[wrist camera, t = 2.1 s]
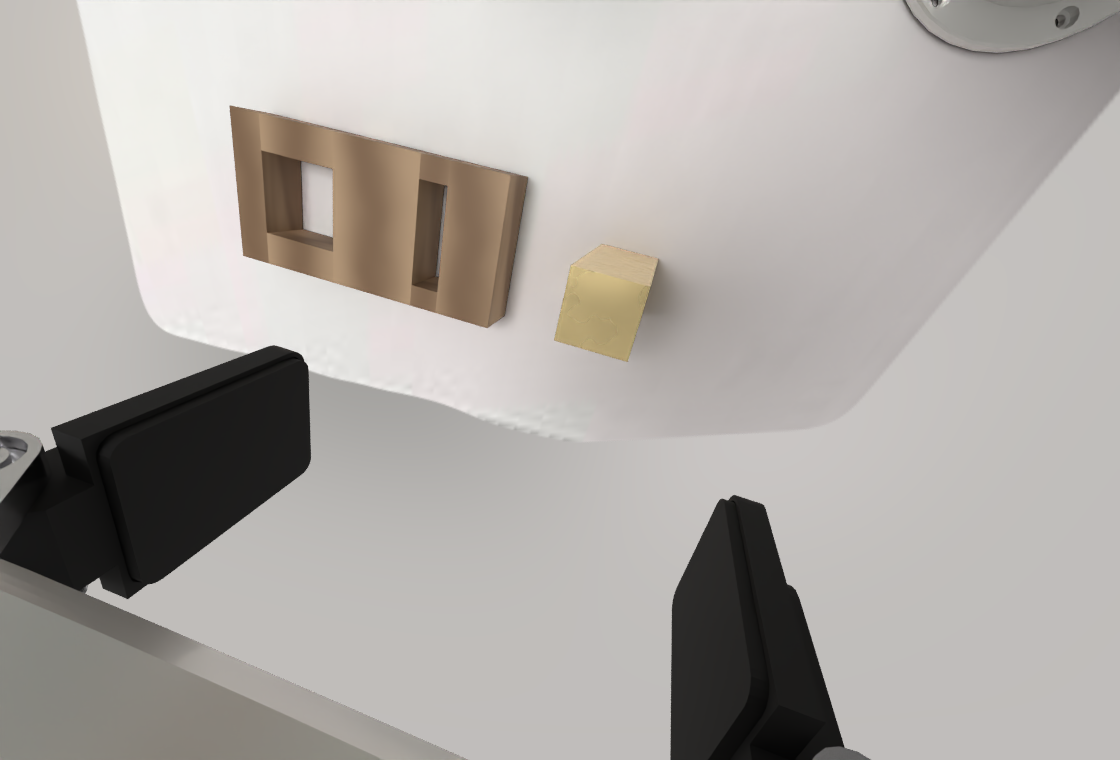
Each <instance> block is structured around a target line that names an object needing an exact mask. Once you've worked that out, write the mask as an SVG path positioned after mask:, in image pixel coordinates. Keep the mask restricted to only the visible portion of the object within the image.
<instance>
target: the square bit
mask: <svg viewBox="0 0 1120 760" xmlns="http://www.w3.org/2000/svg"><path fill="white" fill-rule="evenodd" d="M657 262H658V259H657V258H654V257H650V256H646V255H642V254H638V253H635V252H631V251H627V250H623V249H619V248H615V247H612V246H608V245H604V244H601V245H600V246H598V247H597V248H595V249H594V250H592V251H591V252H589V253H588V254H587V255H585V256H584V257H582V258H581V259H579V260H578V261H576V262H575V263H573V264H572V265H571V267H570V272H569V276H568V281H567V285H566V290H565V294H564V298H563V303H562V307H561V312H560V316H559V321H558V325H557V330H556V334H555V338H554V340H555V341H558V342H562V343H565V344H568V345H572V346H575V347H578V348H582V349H585V350H589V351H592V352H595V353H599V354H602V355H606V356H609V357H612V358H616V359H619V360H623V361H626V362H628V359H629V355H630V352H631V349H632V346H633V343H634V339H635V336H636V333H637V330H638V326H639V323H640V320H641V317H642V313H643V310H644V307H645V304H646V300H647V297H648V294H649V291H650V287H651V284H652V280H653V277H654V273H655V270H656V266H657Z"/></svg>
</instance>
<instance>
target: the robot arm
mask: <svg viewBox="0 0 1120 760" xmlns="http://www.w3.org/2000/svg"><path fill="white" fill-rule="evenodd" d="M906 2H907V4H908V6H909V8H910V9H911V11H912V13H913V15H914V16H915V17H916V18H917V19H918V20H919V21H920V22H921V23H922V24H923V25H924V26H925V27H926V29H927V30H928V31H929V32H931V33H933V34H934V35H936V36H938V37H939V38H941V39H942V40H944V41H946V42H947V43H949V44H952V45H955V46H958V47H962V48H965V49H968V50H971V51H981V52H995V53H1002V52H1010V51H1019V50H1027V49H1031V48H1035V47H1038V46H1041V45H1045V44H1048V43H1052V42H1055V41H1058V40H1061V39H1064V38H1066V37H1068V36H1071V35H1073V34H1075V33H1078V32H1080V31H1083V30H1085V29H1088V28H1090V27H1092V26H1094V25H1096V24H1098V23H1099V22H1101V21H1103V20H1105V19H1107V18H1109V17H1110V16H1112V15H1114V14H1116V13H1118V12H1120V0H938V5H937V6H936V7H935V6H933V5H932V2H931V0H906ZM1056 19H1058V25H1057V27H1056V24H1055V20H1056ZM51 430H52V433H53V436H54V439H55V442H56V445H57V447H56V448H53V449H51V450H48V451H46V452H45V451H44V448H43V445H42V443H41V441H40V439H39V438H38V437H36V436H34V435H32V434H30V433H25V432H19V431H0V760H467V759H465V758H463V757H460V756H458V755H456V754H454V753H452V752H449V751H447V750H445V749H442V748H440V747H438V746H436V745H433V744H431V743H429V742H426V741H424V740H422V739H419V738H417V737H415V736H413V735H410V734H408V733H406V732H404V731H401V730H399V729H397V728H395V727H392V726H390V725H388V724H386V723H383V722H381V721H379V720H376V719H374V718H372V717H370V716H367V715H365V714H363V713H361V712H358V711H356V710H354V709H351V708H349V707H347V706H345V705H342V704H340V703H338V702H335V701H333V700H331V699H328V698H326V697H324V696H322V695H319V694H317V693H315V692H312V691H310V690H308V689H305V688H303V687H301V686H298V685H296V684H294V683H291V682H289V681H287V680H285V679H282V678H280V677H277V676H275V675H273V674H271V673H268V672H266V671H264V670H262V669H259V668H257V667H254V666H252V665H250V664H247V663H245V662H243V661H241V660H238V659H236V658H234V657H231V656H229V655H226V654H224V653H222V652H220V651H218V650H215V649H213V648H211V647H208V646H206V645H204V644H201V643H199V642H197V641H194V640H192V639H190V638H187V637H185V636H183V635H180V634H178V633H176V632H173V631H171V630H169V629H167V628H164V627H162V626H159V625H157V624H155V623H152V622H150V621H148V620H145V619H143V618H141V617H138V616H136V615H134V614H131V613H129V612H127V611H124V610H122V609H119V608H117V607H115V606H112V605H110V604H108V603H105V602H103V601H101V600H98V599H96V598H93V597H91V596H89V595H87V594H85V593H86V591H87V587H88V584H90V583H91V582H93V581H94V580H96V579H97V578H100V580H101V584H102V587H103V589H105V590H108V591H110V592H112V593H115V594H118V595H120V596H122V597H124V598H126V599H129V598H130V597H131V596H133V595H134V594H135V593H137V592H138V591H139V590H141V589H142V588H143V587H145V586H146V585H147V584H153V583H156V582H158V581H159V580H161V579H163V578H164V577H165V576H167V575H168V574H169V573H171V572H172V571H173V570H175V569H176V568H177V567H179V566H180V565H181V564H183V563H184V562H185V561H187V560H188V559H189V558H191V557H192V556H193V555H195V554H196V553H197V552H199V551H200V550H201V549H203V548H204V547H205V546H207V545H208V544H209V543H211V542H212V541H213V540H215V539H216V538H217V537H219V536H220V535H221V534H223V533H224V532H225V531H227V530H228V529H229V528H231V527H232V526H233V525H235V524H236V523H237V522H239V521H240V520H241V519H243V518H244V517H245V516H247V515H248V514H249V513H251V512H252V511H253V510H255V509H256V508H257V507H259V506H260V505H261V504H263V503H264V502H265V501H267V500H268V499H269V498H271V497H272V496H273V495H275V494H276V493H277V492H279V491H280V490H281V489H283V488H284V487H285V486H287V485H288V484H289V483H291V482H292V481H293V480H295V479H296V478H297V477H299V476H300V475H301V474H303V473H304V472H305V470H306V469H307V468H308V466H309V464H310V460H311V445H310V410H309V374H308V365H307V364H306V363H305V362H304V359H303V357H302V355H300V354H299V353H297V352H294V351H291V350H288V349H285V348H282V347H279V346H274V345H273V346H268V347H266V348H263V349H260V350H258V351H255V352H252V353H250V354H247V355H244V356H242V357H239V358H237V359H234V360H231V361H228V362H226V363H223V364H220V365H218V366H215V367H213V368H210V369H207V370H204V371H202V372H199V373H196V374H194V375H191V376H189V377H186V378H183V379H180V380H178V381H175V382H172V383H170V384H167V385H165V386H162V387H159V388H156V389H154V390H151V391H149V392H146V393H143V394H140V395H138V396H135V397H132V398H130V399H127V400H124V401H122V402H119V403H117V404H114V405H111V406H109V407H106V408H103V409H101V410H98V411H95V412H92V413H90V414H87V415H84V416H82V417H79V418H77V419H74V420H71V421H68V422H66V423H63V424H61V425H58V426H55V427H52V428H51ZM671 665H672V666H671V668H672V669H671V760H870V759H869V758H867V757H865V756H863V755H862V754H860V753H859V752H857V751H853V750H850V749H847V748H845V747H844V744H843V741H842V737H841V734H840V731H839V728H838V724H837V721H836V718H835V714H834V711H833V708H832V705H831V701H830V698H829V695H828V691H827V688H826V685H825V681H824V678H823V675H822V672H821V669H820V665H819V662H818V658H817V656H816V652H815V649H814V645H813V642H812V639H811V635H810V632H809V629H808V626H807V622H806V619H805V616H804V612H803V609H802V606H801V602H800V599H799V597H798V594H797V592H796V590H795V589H794V588H793V587H792V586H790V585H787V583H786V579H785V576H784V572H783V569H782V565H781V562H780V558H779V555H778V551H777V548H776V544H775V541H774V537H773V534H772V530H771V526H770V523H769V519H768V516H767V512H766V509H765V507H764V505H763V504H760V503H757V502H754V501H751V500H748V499H745V498H742V497H739V496H736V495H733V496H732V497H731V498H730V499H729V500H725V499H720V500H719V502H718V503H717V505H716V507H715V509H714V512H713V514H712V516H711V518H710V520H709V522H708V524H707V526H706V528H705V530H704V532H703V535H702V536H701V539H700V541H699V543H698V545H697V547H696V549H695V551H694V553H693V555H692V557H691V559H690V562H689V564H688V566H687V568H686V570H685V572H684V574H683V576H682V578H681V580H680V582H679V584H678V586H677V589H676V591H675V594H674V599H673V604H672V664H671Z"/></svg>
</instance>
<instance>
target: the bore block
mask: <svg viewBox="0 0 1120 760" xmlns="http://www.w3.org/2000/svg"><path fill="white" fill-rule="evenodd" d="M230 116H231V127H232V138H233V149H234V160H235V171H236V181H237V192H238V203H239V214H240V225H241V236H242V247H243V256H246V257H249V258H253V259H256V260H259V261H263V262H266V263H270V264H273V265H276V266H280V267H283V268H286V269H290V270H293V271H296V272H300V273H303V274H307V275H310V276H313V277H317V278H320V279H323V280H327V281H330V282H333V283H337V284H340V285H344V286H347V287H350V288H354V289H357V290H360V291H364V292H367V293H371V294H374V295H377V296H381V297H384V298H387V299H391V300H394V301H397V302H401V303H404V304H408V305H411V306H414V307H418V308H421V309H424V310H428V311H431V312H434V313H438V314H441V315H445V316H448V317H451V318H455V319H458V320H461V321H465V322H468V323H471V324H475V325H478V326H482V327H485V328H488V327H490V326H491V325H492V324H494V323H495V322H497V321H498V320H499V319H501V318H502V317H504V316H505V310H506V304H507V298H508V292H509V286H510V281H511V275H512V269H513V263H514V257H515V251H516V245H517V239H518V233H519V227H520V221H521V215H522V210H523V204H524V198H525V192H526V186H527V180H528V177H526V176H522V175H518V174H514V173H510V172H506V171H502V170H498V169H493V168H489V167H485V166H481V165H477V164H473V163H469V162H465V161H461V160H457V159H453V158H449V157H445V156H441V155H437V154H433V153H429V152H425V151H421V150H417V149H413V148H409V147H405V146H401V145H396V144H392V143H388V142H384V141H380V140H376V139H372V138H368V137H364V136H360V135H356V134H352V133H348V132H344V131H340V130H336V129H332V128H328V127H324V126H320V125H316V124H312V123H308V122H304V121H300V120H295V119H291V118H287V117H283V116H279V115H275V114H271V113H266V112H261V111H255V110H250V109H245V108H240V107H235V106H230ZM301 161H304V162H308V163H312V164H316V165H320V166H323V167H327V168H331V169H333V238H332V237H328V236H325V235H321V234H318V233H314V232H311V231H307V230H304V229H303V219H302V189H301ZM444 185H446V186H448V189H447V199H446V209H445V219H444V229H443V240H442V250H441V260H440V270H439V277H436V267H437V256H438V246H439V235H440V224H441V214H442V203H443V193H444Z"/></svg>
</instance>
